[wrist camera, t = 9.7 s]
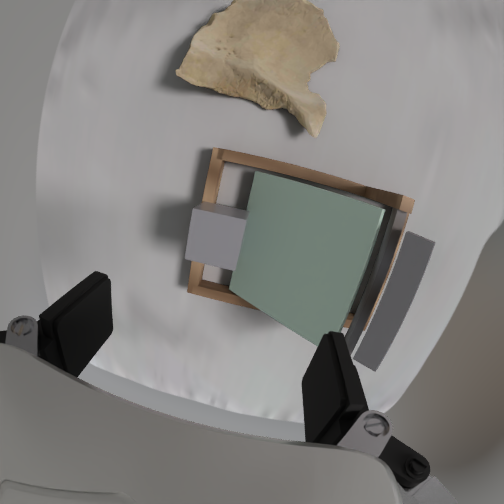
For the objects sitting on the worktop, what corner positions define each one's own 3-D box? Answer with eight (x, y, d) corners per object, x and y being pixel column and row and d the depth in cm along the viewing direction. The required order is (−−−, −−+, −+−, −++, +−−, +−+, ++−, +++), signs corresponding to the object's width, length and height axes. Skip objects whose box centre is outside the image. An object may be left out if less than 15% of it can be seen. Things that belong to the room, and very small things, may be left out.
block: (250, 211, 29) (205, 201, 29) (246, 220, 24) (192, 208, 24) (240, 254, 31) (197, 244, 31) (235, 271, 26) (184, 258, 26)
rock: (360, 40, 24) (372, 28, 20) (313, 137, 29) (320, 136, 25) (232, -10, 22) (227, -26, 18) (178, 83, 27) (165, 75, 23)
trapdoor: (263, 172, 29) (253, 170, 28) (439, 230, 18) (438, 231, 16) (236, 287, 33) (227, 289, 32) (375, 371, 22) (370, 379, 21)
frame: (217, 148, 29) (188, 138, 19) (404, 200, 29) (456, 217, 19) (191, 285, 34) (161, 332, 24) (360, 322, 34) (386, 375, 24)
